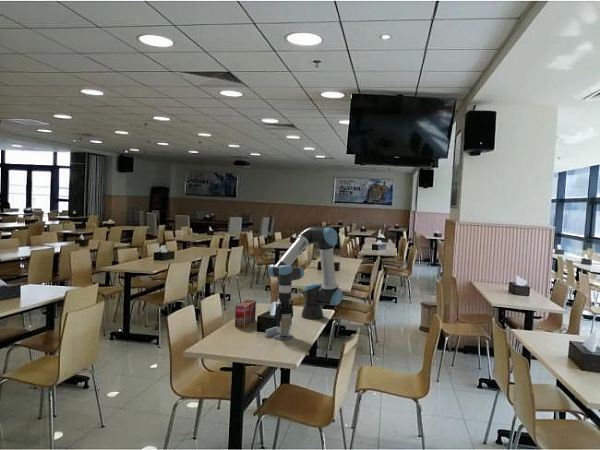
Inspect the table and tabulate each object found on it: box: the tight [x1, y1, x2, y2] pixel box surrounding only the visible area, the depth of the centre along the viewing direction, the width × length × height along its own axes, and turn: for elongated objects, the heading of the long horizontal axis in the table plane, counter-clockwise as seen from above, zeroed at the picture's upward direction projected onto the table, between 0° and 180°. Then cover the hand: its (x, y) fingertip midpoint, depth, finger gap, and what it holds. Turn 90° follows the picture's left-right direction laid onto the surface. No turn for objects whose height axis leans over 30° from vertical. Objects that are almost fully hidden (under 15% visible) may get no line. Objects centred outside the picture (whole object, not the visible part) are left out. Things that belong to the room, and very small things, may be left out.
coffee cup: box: [277, 308, 292, 336], centre depth 274 cm, size 9×9×15 cm
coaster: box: [272, 333, 294, 341], centre depth 274 cm, size 12×12×1 cm
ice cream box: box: [234, 299, 257, 329], centre depth 302 cm, size 20×6×13 cm, turn 166°
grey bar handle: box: [263, 326, 278, 338], centre depth 281 cm, size 16×3×4 cm, turn 145°
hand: (283, 330), depth 274 cm, fingers closed on coffee cup, 8 cm apart
